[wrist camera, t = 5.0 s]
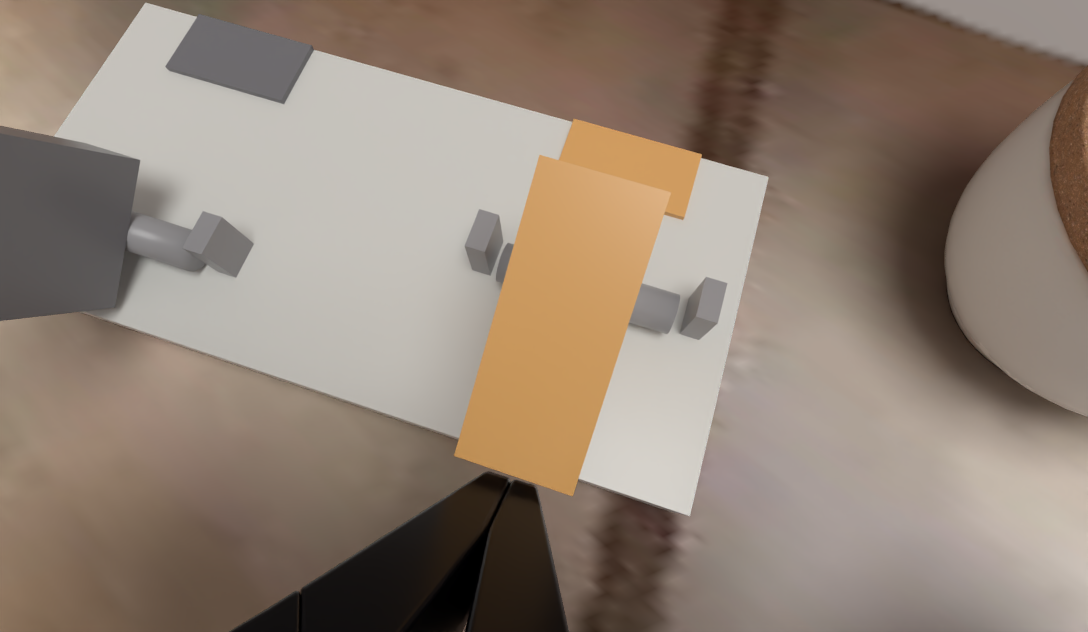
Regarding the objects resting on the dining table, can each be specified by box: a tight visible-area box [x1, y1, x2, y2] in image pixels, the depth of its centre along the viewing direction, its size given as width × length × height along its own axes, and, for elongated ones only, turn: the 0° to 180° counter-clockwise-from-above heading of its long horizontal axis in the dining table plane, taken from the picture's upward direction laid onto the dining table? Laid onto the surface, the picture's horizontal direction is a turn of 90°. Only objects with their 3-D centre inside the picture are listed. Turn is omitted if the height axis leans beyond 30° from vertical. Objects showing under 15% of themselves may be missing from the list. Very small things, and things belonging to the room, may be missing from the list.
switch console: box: [54, 3, 769, 516], centre depth 18 cm, size 11×23×4 cm, turn 72°
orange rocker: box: [454, 155, 680, 496], centre depth 12 cm, size 4×5×9 cm
